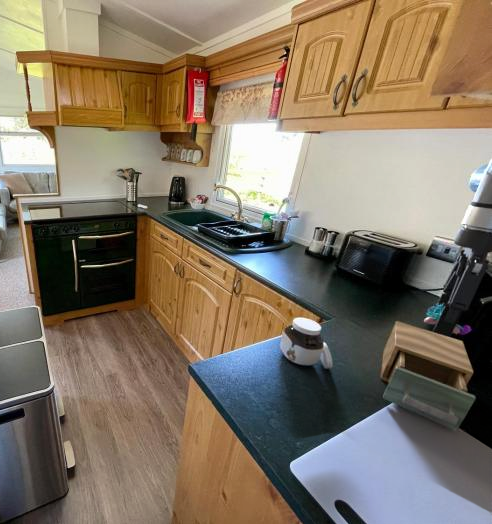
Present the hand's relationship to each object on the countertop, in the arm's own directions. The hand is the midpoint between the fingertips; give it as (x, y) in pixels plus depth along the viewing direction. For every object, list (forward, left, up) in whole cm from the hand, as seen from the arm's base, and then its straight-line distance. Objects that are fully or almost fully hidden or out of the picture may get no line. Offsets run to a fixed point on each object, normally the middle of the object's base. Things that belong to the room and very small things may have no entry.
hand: (440, 326), depth 66 cm
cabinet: (-1, -9, -19) cm, 21 cm away
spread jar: (+23, +6, -20) cm, 31 cm away
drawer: (-1, +4, -18) cm, 19 cm away
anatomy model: (0, 0, 0) cm, 1 cm away
